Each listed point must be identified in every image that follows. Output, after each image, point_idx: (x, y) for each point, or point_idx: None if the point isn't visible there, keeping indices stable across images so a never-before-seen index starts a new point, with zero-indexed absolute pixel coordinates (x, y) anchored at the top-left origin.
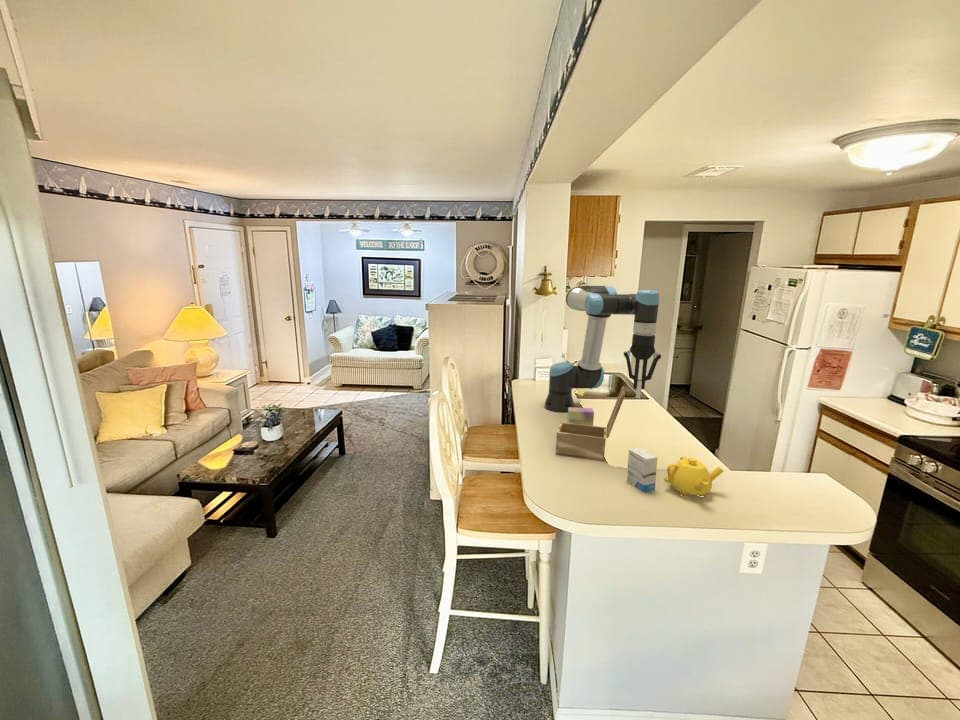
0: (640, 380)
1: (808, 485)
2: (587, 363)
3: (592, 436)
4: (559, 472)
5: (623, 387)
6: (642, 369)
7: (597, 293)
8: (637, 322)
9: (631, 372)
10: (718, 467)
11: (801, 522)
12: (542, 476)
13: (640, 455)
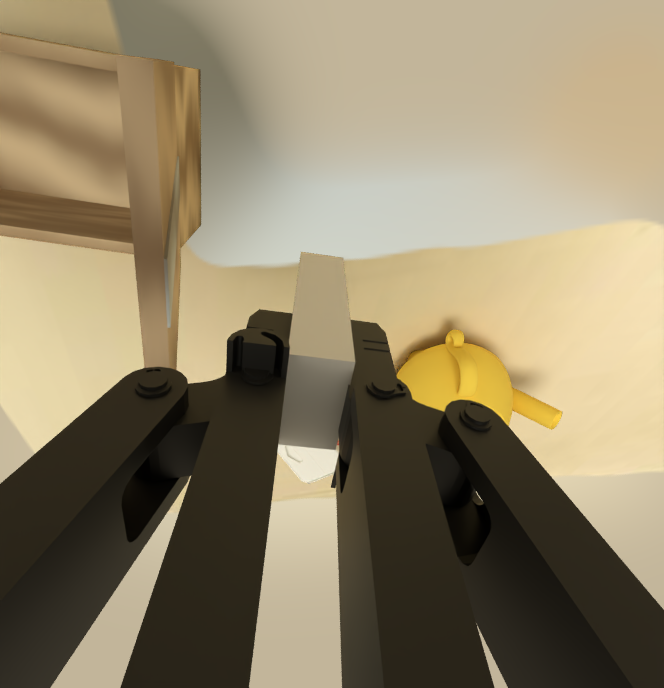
0: (326, 410)
1: None
2: None
3: (101, 241)
4: (61, 338)
5: (141, 118)
6: (361, 559)
7: None
8: None
9: (131, 548)
10: (549, 426)
11: (627, 454)
12: (19, 370)
13: (292, 467)
